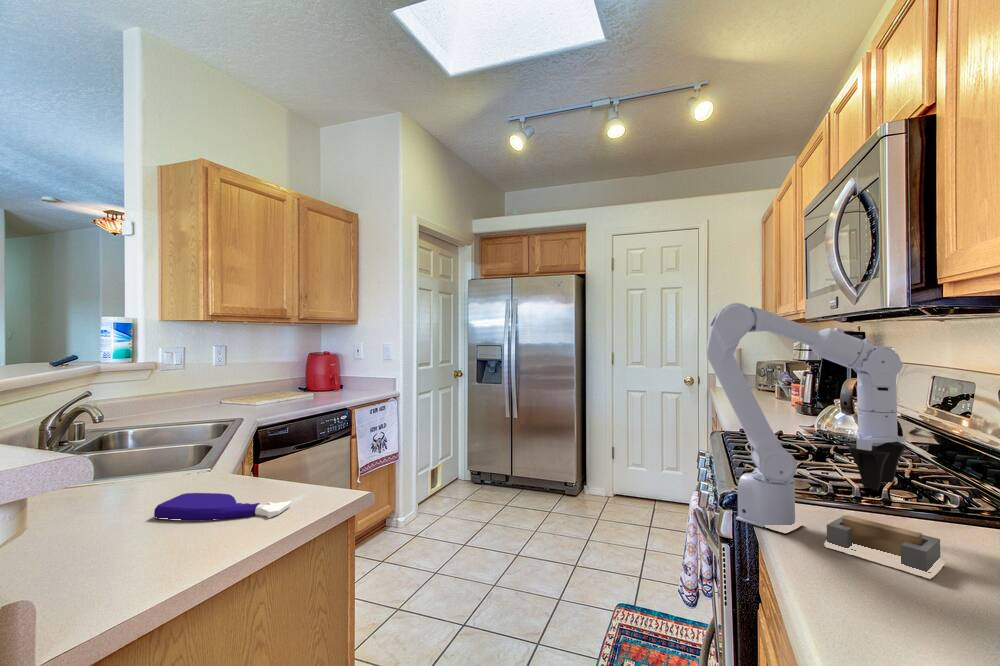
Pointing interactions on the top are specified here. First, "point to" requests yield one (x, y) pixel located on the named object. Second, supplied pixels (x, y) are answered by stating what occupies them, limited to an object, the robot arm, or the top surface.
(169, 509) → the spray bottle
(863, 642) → the top surface
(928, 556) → the end caps
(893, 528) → the slat
